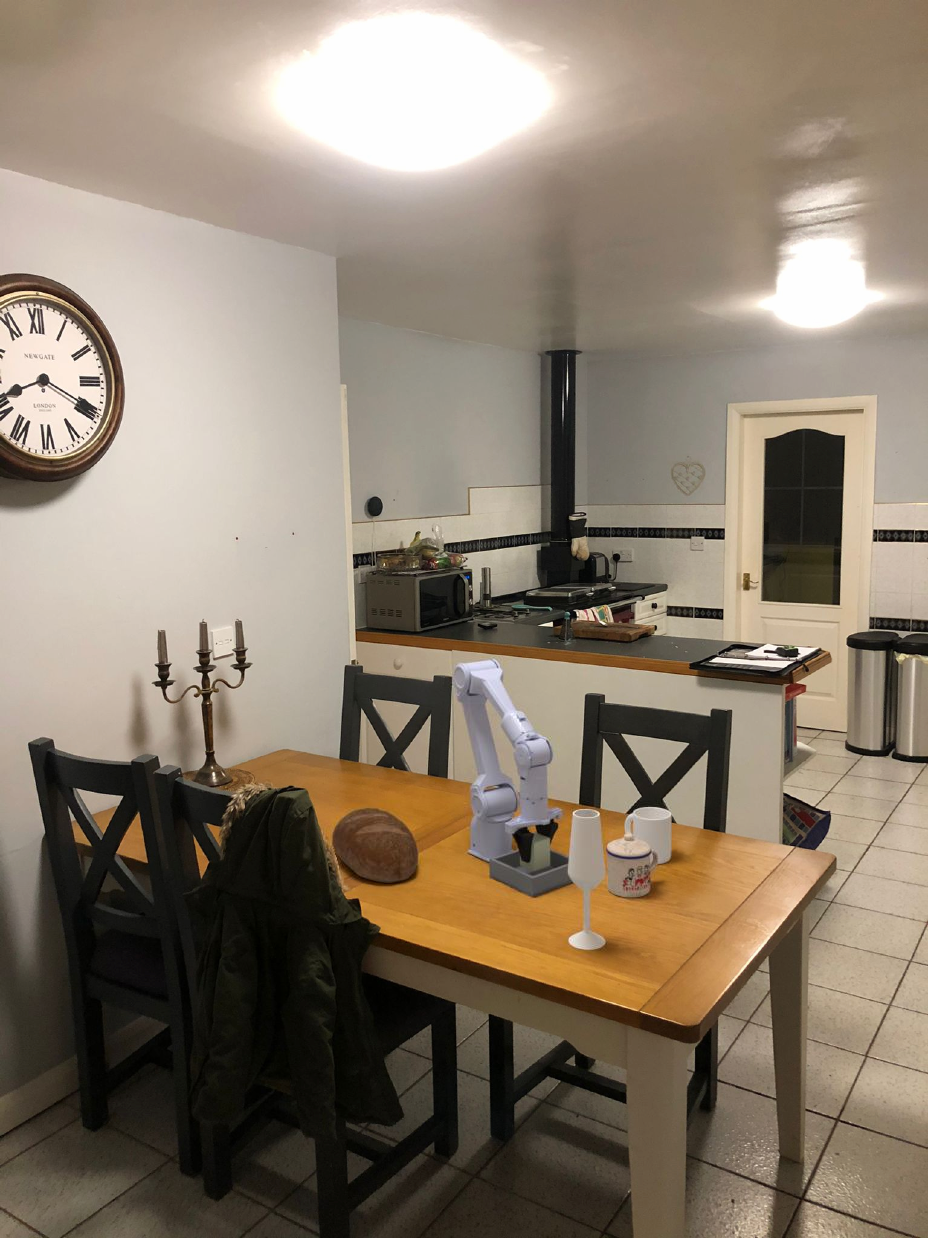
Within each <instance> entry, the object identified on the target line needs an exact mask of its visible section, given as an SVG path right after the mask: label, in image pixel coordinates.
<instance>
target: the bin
mask: <svg viewBox="0 0 928 1238" xmlns="http://www.w3.org/2000/svg"><path fill="white" fill-rule="evenodd" d="M488 863H489V864H488V866H489V867H488V868H489V869H488V870H489V878H491V879H493V880H495V881H497V882H499V883H501V884H503V885H505V886H507V887H509V888H512V889H514V890H517V892H521V893H523V894H524V895H527V896H528V897H531V898H536V897H538V896H541V895H543V894H545V893H549V892H551V891H553V890H556V889H559V888H561V887H564V886H567V885H569V884H572V883H573V881H572V880H571V879H570V877H569V875H568V863H569V855H566V854H564V853H562V852H559V851H557V850H554V849H552V848H550V866H547V867H544V868H542V869H539V870H536V871H533V870H531V869H529V868H526V867H524V866H522V865H520V853H519V849H518V848H517V849H515V850H514V851H512V852H509V853H506V854H503V855H500V856H497V857H494V858H491V859H489V862H488ZM573 884H574V883H573Z"/></svg>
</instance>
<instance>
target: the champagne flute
mask: <svg viewBox="0 0 928 1238" xmlns="http://www.w3.org/2000/svg"><path fill="white" fill-rule="evenodd" d="M571 818H572V819H571V829H570V831H571V832H570V841H569V842H570V843H569V852H568V853H569V855H568V856H569V863H568V875H569V877H570V879H571V880H572V881H573V884H574V885H575V886H576V887H577V888H579V890H580V891H581V890H582V891H583V893H582V895H583V900H582V901H583V930H582V931H579V932H577V933H574V934H571V936H569V937H568V944H570V946H572V947H574V948H575V949H579V950H586V951H592V950H597V949H600V948H602V947H604V946H605V944H606V939H605V938H604V937H603V936H602V935H599V934H598V933H595V932H593V931H592V930H591V891H592V890H594V889H595V888H596V887H598V886H599V885H600V884H601V883H602V881H603V880H604V878H605V876H606V866H605V855H604V847H603V846H604V845H603V836H602V835H603V834H602V825H601V823H602V822H601V814H600V812H599V811H597V810H595V809H590V808H589V809H588V808H585V809H584V808H583V809H582V808H580V809H577V810H574V811H573V812H572V817H571Z"/></svg>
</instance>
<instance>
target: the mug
mask: <svg viewBox="0 0 928 1238" xmlns="http://www.w3.org/2000/svg"><path fill="white" fill-rule="evenodd" d="M631 826H632V830H631ZM624 832H625V834H627V833H630V834H633V836H634V838H636V839H638V840H640V841H643V842H646V843H647V844H648V845H649V846H650V847H651V849H652V850H654V851H656V852H657V854H658V863H657V865H661V864H665V863H667V862H669V861H670V859H671V858H672V813H671V811H669V810H668V809H666V808H661V807H656V806H654V807H652V806H648V807H647V806H646V807H645V806H644V807H639V808H637V809H634V810H633V812H632V813H630V814H628V816H627V817H626V819H625V821H624ZM652 861H653V854H652V853H651V854H650V865H651V864H652Z"/></svg>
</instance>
